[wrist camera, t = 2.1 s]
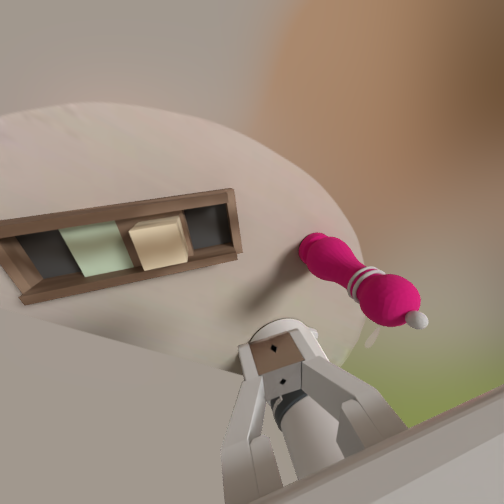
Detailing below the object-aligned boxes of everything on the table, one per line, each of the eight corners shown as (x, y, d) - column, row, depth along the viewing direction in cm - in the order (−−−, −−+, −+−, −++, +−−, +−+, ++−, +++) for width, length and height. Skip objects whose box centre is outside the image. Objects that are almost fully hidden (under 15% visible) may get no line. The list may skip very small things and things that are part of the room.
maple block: (188, 249, 28) (187, 261, 24) (151, 257, 27) (144, 270, 23) (179, 215, 25) (176, 223, 22) (138, 221, 24) (128, 231, 21)
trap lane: (239, 246, 32) (245, 258, 28) (39, 287, 27) (12, 308, 23) (231, 188, 28) (236, 191, 24) (-6, 221, 23) (-49, 233, 19)
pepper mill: (335, 231, 36) (469, 294, 18) (323, 266, 39) (432, 350, 21) (301, 227, 34) (417, 295, 16) (291, 264, 36) (382, 357, 19)
